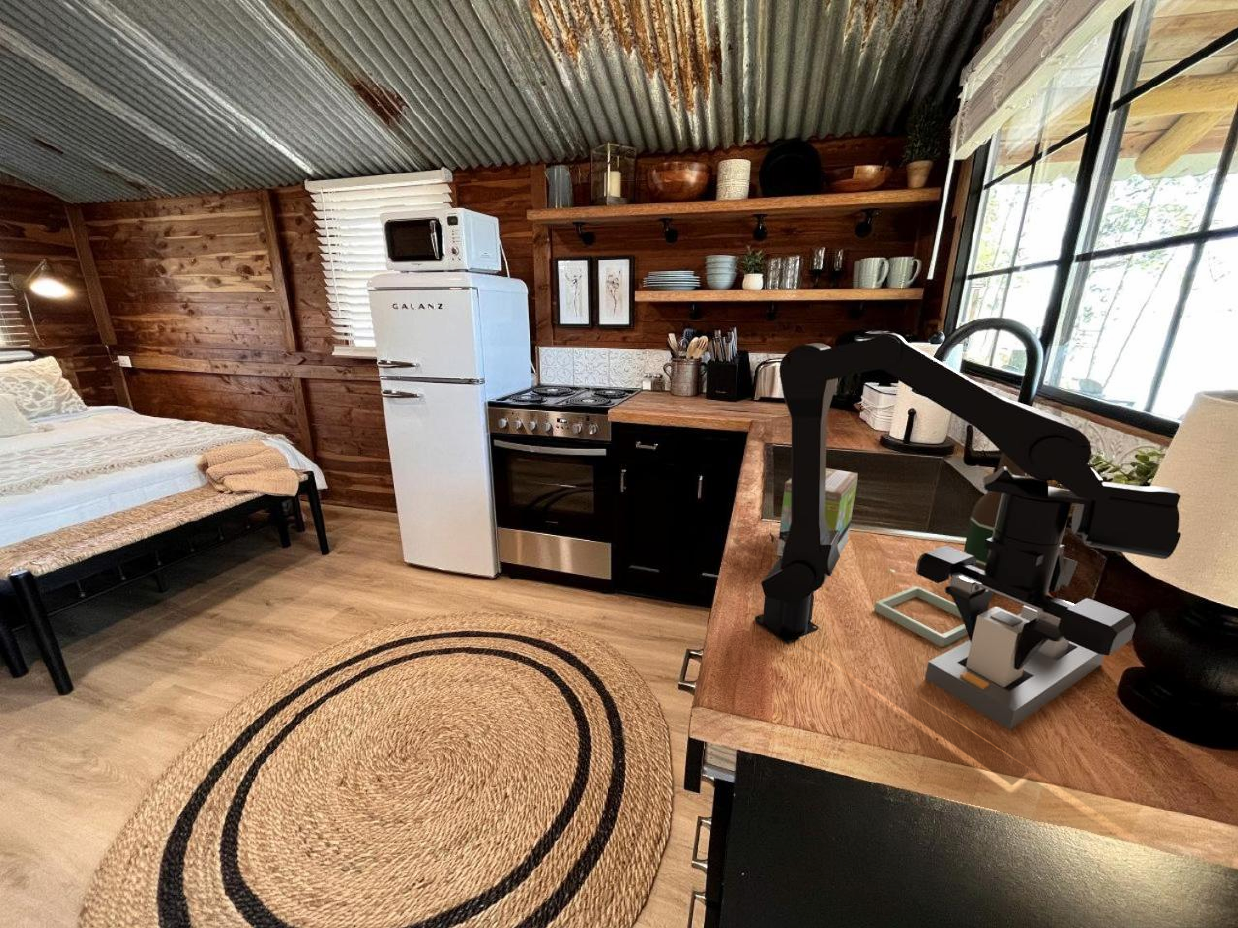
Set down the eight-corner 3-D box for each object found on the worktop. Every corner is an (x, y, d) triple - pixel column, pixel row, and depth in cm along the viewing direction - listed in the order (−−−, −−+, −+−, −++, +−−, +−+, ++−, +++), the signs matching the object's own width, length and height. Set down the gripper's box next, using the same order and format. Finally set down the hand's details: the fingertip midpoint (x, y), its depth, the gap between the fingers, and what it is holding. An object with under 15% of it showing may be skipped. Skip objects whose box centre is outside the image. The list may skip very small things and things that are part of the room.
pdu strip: (1008, 734, 53) (1014, 708, 52) (924, 682, 61) (928, 659, 60) (1109, 660, 64) (1116, 638, 63) (1028, 625, 72) (1033, 604, 71)
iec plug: (1003, 687, 56) (1017, 632, 54) (965, 666, 59) (977, 613, 57) (1021, 675, 58) (1036, 622, 56) (984, 656, 61) (996, 604, 59)
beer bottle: (1015, 580, 84) (1048, 442, 78) (1015, 600, 78) (1052, 452, 72) (960, 567, 89) (987, 436, 82) (957, 585, 83) (986, 445, 76)
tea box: (831, 571, 88) (841, 492, 84) (775, 556, 93) (782, 481, 89) (849, 541, 99) (859, 470, 95) (798, 530, 105) (805, 462, 101)
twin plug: (1047, 671, 61) (1062, 620, 59) (1011, 653, 65) (1023, 604, 63) (1063, 661, 63) (1077, 611, 61) (1026, 644, 67) (1038, 596, 65)
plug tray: (941, 651, 66) (944, 637, 66) (873, 613, 75) (875, 602, 74) (982, 629, 71) (985, 617, 70) (914, 596, 79) (916, 585, 79)
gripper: (1177, 552, 49) (1132, 683, 54) (975, 496, 65) (953, 601, 70) (1131, 578, 44) (1085, 721, 49) (924, 510, 60) (903, 623, 65)
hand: (996, 657), depth 58 cm, fingers closed on iec plug, 4 cm apart
